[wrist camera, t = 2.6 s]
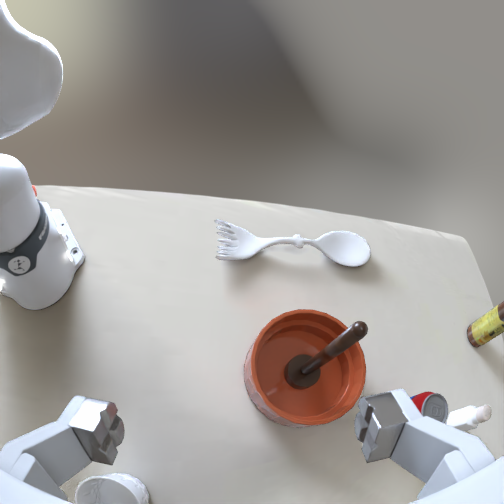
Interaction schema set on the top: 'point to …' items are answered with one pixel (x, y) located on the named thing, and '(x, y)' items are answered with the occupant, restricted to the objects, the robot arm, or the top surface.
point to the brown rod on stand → (321, 358)
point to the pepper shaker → (469, 417)
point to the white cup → (112, 490)
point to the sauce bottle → (487, 326)
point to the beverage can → (431, 405)
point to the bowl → (287, 347)
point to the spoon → (330, 244)
